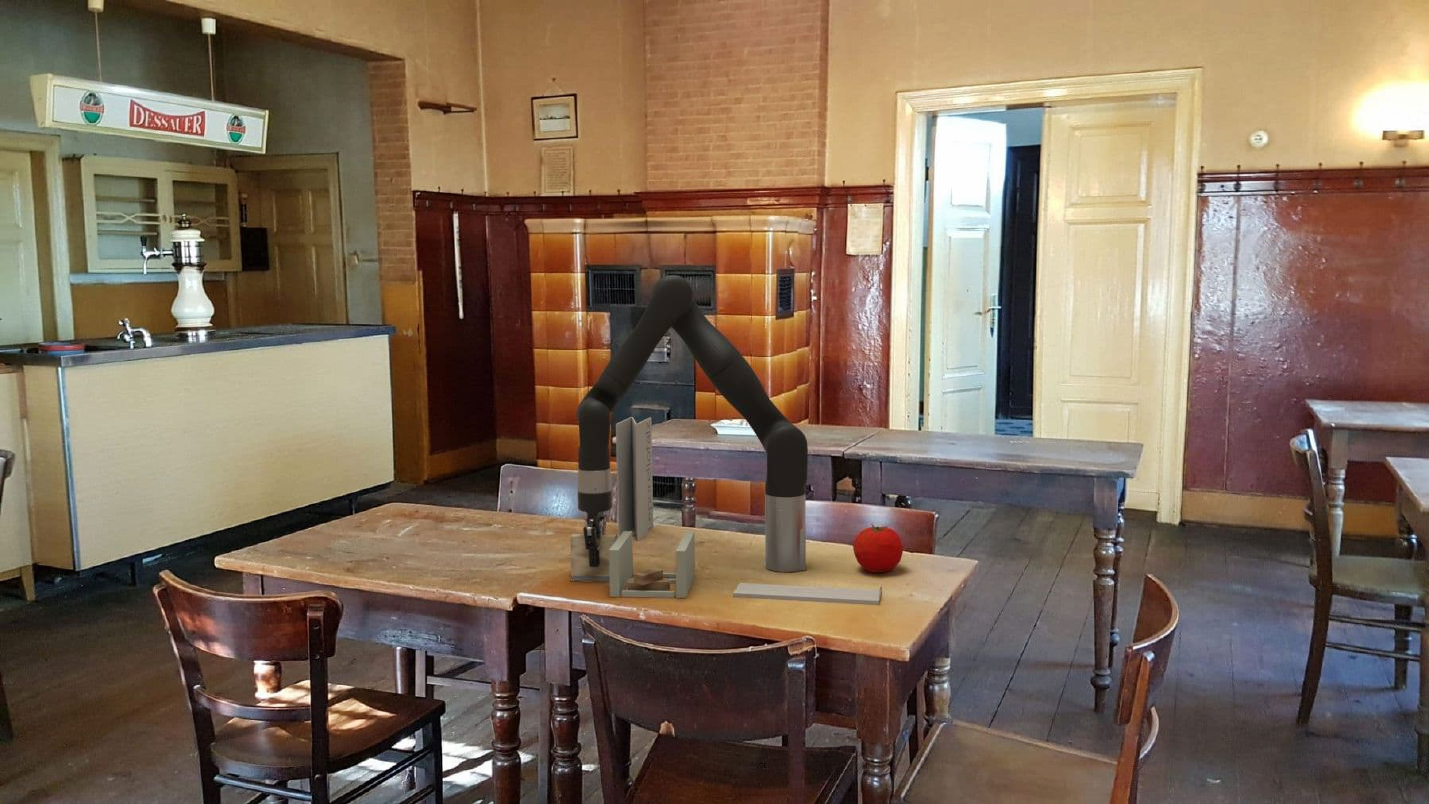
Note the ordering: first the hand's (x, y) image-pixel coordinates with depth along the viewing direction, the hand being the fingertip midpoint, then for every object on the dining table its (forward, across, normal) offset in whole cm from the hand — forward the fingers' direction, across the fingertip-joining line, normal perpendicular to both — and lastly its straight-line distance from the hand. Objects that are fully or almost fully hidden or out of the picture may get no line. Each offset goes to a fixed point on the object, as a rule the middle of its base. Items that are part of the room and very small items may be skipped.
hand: (596, 563), depth 232 cm
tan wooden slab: (+2, 0, 0) cm, 2 cm away
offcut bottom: (+3, -12, -14) cm, 18 cm away
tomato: (+3, +9, -63) cm, 64 cm away
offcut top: (0, -12, -14) cm, 18 cm away
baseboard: (+4, -10, -47) cm, 49 cm away
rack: (+3, -7, -14) cm, 16 cm away
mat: (+3, 0, 0) cm, 3 cm away
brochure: (+3, +40, -2) cm, 40 cm away
